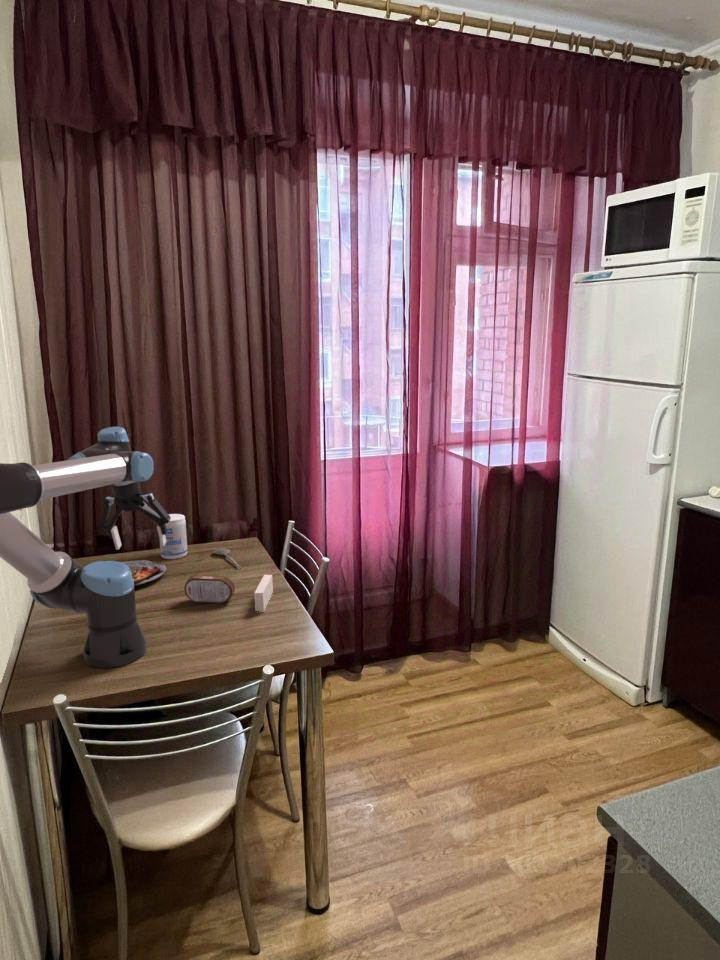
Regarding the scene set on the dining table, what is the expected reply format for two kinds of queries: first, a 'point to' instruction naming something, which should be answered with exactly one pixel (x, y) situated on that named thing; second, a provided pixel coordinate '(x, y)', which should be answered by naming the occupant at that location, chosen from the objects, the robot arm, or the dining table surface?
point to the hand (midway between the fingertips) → (141, 545)
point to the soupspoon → (224, 552)
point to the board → (263, 593)
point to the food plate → (146, 571)
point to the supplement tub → (175, 538)
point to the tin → (209, 588)
